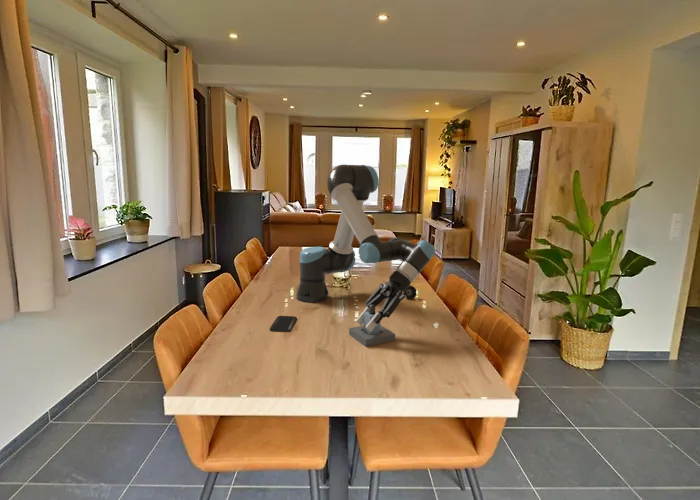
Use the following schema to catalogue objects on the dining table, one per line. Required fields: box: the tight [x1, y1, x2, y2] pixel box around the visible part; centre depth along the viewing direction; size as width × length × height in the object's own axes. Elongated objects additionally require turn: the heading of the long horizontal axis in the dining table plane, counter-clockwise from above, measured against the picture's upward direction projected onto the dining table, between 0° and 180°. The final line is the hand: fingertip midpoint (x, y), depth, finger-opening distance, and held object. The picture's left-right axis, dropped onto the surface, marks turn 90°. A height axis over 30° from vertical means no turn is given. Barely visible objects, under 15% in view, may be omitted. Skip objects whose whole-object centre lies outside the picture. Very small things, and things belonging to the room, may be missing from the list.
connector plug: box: [362, 304, 381, 335], centre depth 151 cm, size 4×4×12 cm
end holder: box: [348, 324, 396, 347], centre depth 152 cm, size 12×12×2 cm
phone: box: [269, 315, 297, 333], centre depth 164 cm, size 8×1×15 cm
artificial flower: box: [383, 274, 417, 300], centre depth 209 cm, size 9×22×10 cm, turn 20°
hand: (363, 326), depth 150 cm, fingers open, 6 cm apart
